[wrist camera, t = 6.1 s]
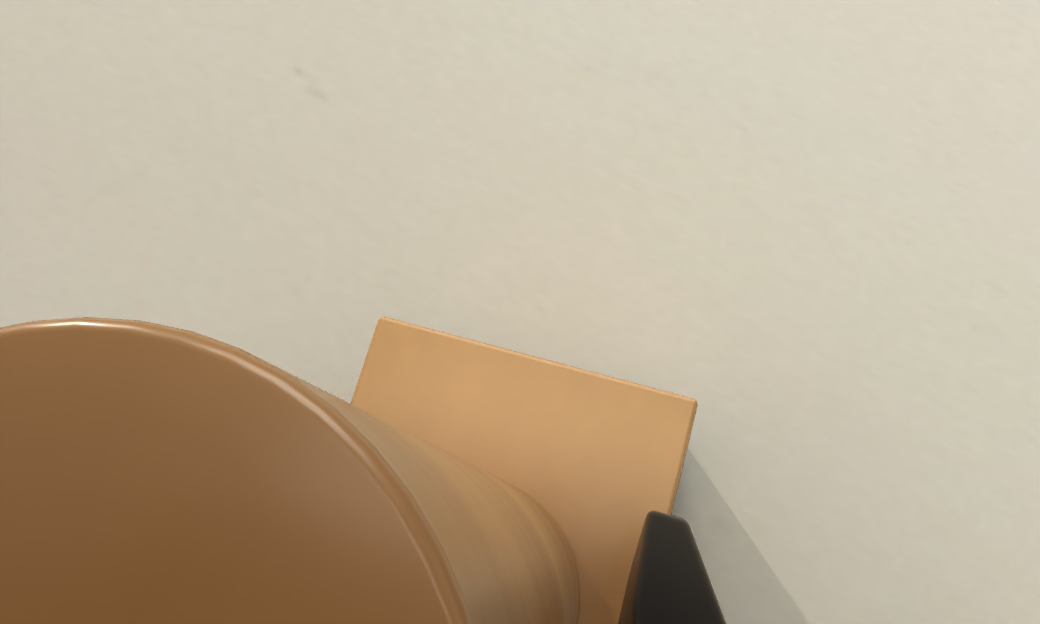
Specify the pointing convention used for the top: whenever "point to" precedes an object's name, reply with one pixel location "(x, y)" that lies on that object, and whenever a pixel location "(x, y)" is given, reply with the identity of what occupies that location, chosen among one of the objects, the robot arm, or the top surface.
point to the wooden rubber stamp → (319, 482)
